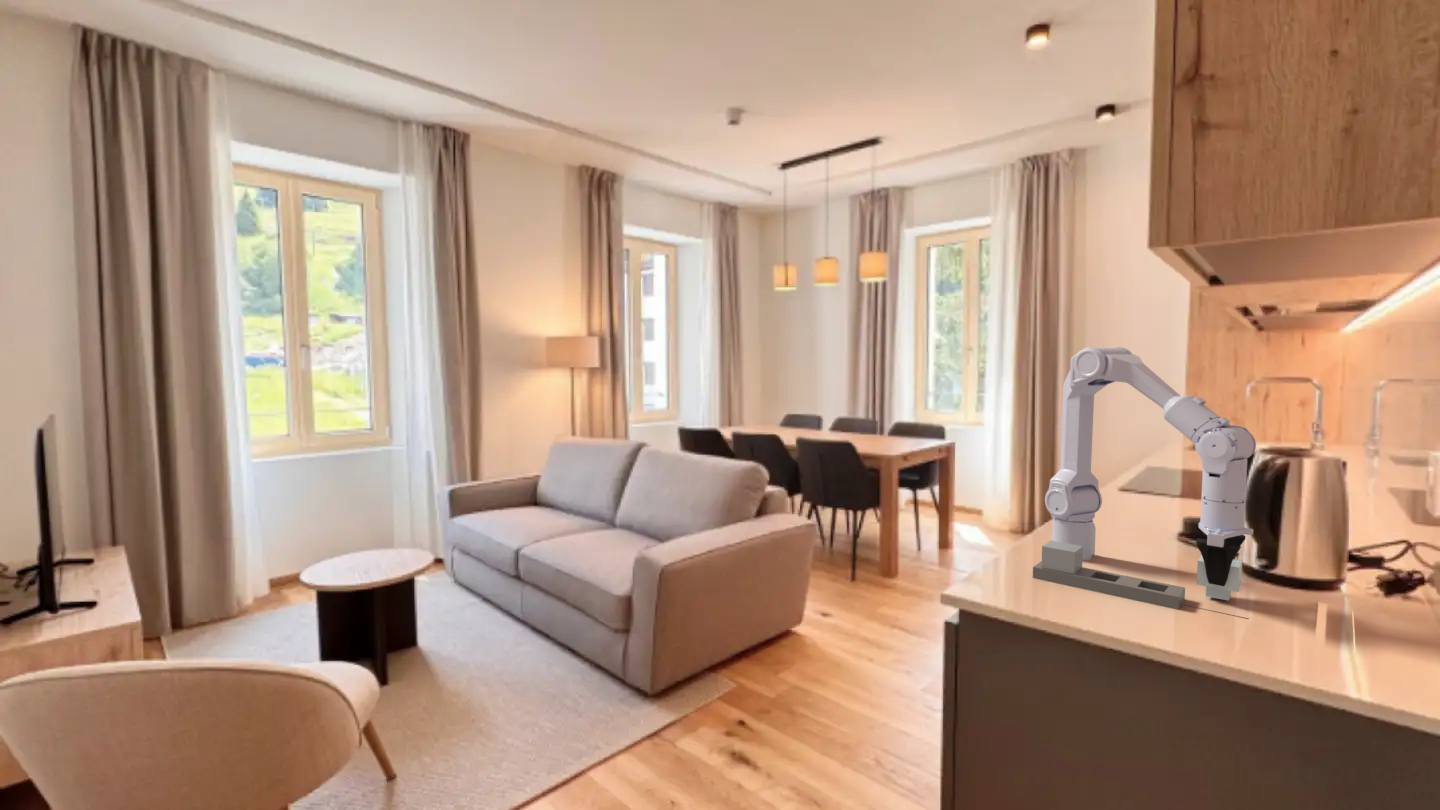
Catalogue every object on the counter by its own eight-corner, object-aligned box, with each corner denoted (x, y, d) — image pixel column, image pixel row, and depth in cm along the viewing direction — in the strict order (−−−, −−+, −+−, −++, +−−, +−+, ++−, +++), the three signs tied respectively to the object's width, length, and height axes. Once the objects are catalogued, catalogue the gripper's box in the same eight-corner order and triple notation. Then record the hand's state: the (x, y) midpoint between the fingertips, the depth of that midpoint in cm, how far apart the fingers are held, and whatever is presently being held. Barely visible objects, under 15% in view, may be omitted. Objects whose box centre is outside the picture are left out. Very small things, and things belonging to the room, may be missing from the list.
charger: (1200, 588, 110) (1201, 554, 110) (1240, 596, 106) (1242, 560, 106) (1196, 595, 106) (1197, 560, 106) (1237, 604, 103) (1239, 567, 102)
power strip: (1043, 574, 122) (1044, 538, 121) (1250, 619, 100) (1252, 575, 100) (1032, 582, 117) (1033, 545, 117) (1246, 630, 96) (1248, 585, 96)
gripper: (1249, 510, 97) (1245, 597, 98) (1258, 496, 108) (1254, 574, 108) (1192, 503, 102) (1189, 586, 103) (1206, 490, 112) (1202, 565, 113)
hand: (1219, 580), depth 106 cm, fingers closed on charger, 5 cm apart
